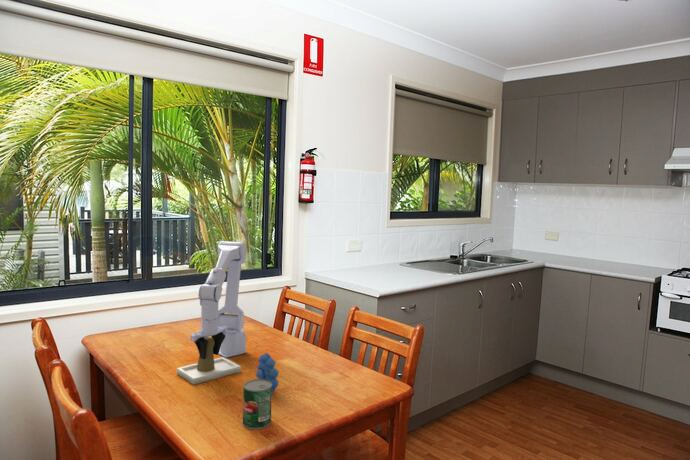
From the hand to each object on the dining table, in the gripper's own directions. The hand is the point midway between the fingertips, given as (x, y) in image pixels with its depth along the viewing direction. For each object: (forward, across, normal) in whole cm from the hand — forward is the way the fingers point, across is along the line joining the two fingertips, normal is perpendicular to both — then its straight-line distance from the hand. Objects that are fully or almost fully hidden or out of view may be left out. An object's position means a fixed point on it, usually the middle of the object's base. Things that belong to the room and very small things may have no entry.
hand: (209, 356), depth 172 cm
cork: (+5, 0, -2) cm, 5 cm away
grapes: (+6, -2, +26) cm, 26 cm away
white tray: (+6, 0, 0) cm, 6 cm away
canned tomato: (+6, +14, +39) cm, 42 cm away
